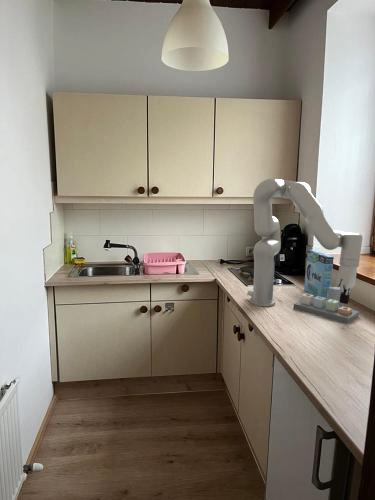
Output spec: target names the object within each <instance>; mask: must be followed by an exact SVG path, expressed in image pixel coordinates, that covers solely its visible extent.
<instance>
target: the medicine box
mask: <svg viewBox="0 0 375 500" xmlns="http://www.w3.org/2000/svg"><path fill="white" fill-rule="evenodd" d="M339 290H340V287H336V286H331V287H328V291H327V300H329V299H332V300H336V301H339V307H342V306H343V307H346V304H344V303H340V292H339Z"/></svg>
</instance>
